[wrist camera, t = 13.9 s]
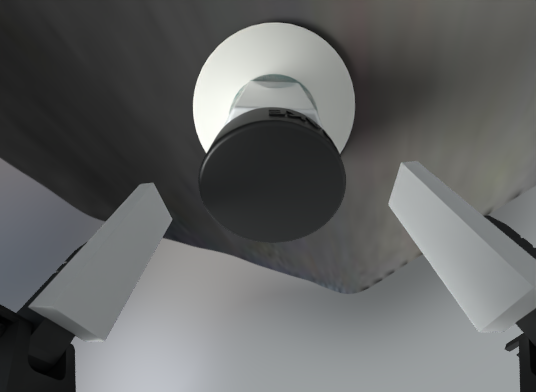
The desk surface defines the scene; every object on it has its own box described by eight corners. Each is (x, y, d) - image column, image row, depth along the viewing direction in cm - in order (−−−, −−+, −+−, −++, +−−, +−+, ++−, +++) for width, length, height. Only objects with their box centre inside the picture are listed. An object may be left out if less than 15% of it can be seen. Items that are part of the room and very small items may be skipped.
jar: (325, 144, 22) (366, 223, 13) (259, 174, 25) (250, 260, 15) (290, 54, 18) (313, 72, 8) (212, 103, 20) (157, 161, 10)
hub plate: (169, 133, 23) (166, 135, 22) (259, -36, 15) (258, -39, 14) (280, 205, 28) (281, 209, 28) (385, 111, 21) (389, 113, 20)
